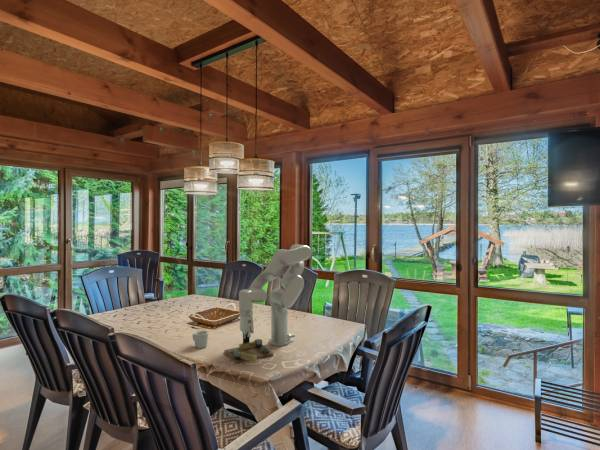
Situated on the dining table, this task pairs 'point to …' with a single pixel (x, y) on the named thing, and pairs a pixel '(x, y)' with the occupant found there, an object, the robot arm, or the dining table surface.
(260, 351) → the base plate
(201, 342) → the cup
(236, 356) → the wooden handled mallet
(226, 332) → the dining table surface
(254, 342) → the ball knob lever
